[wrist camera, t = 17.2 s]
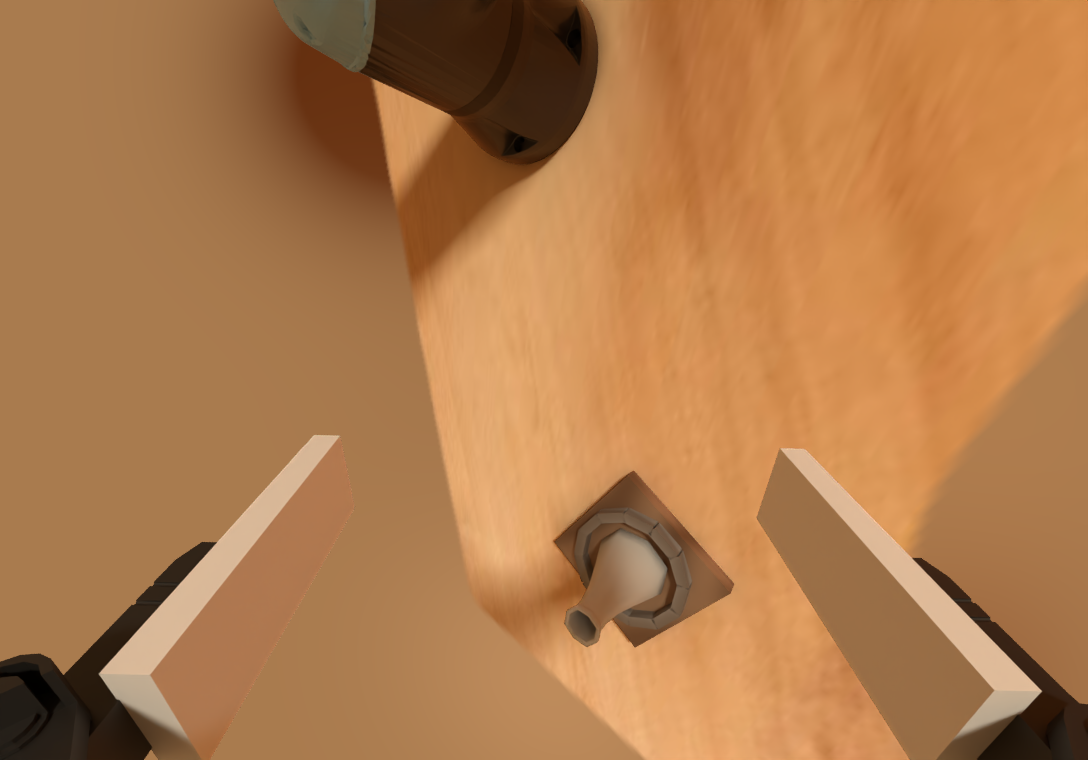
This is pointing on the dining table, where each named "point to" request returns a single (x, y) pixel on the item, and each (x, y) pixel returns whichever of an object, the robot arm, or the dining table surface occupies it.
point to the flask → (616, 584)
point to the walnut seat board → (688, 564)
